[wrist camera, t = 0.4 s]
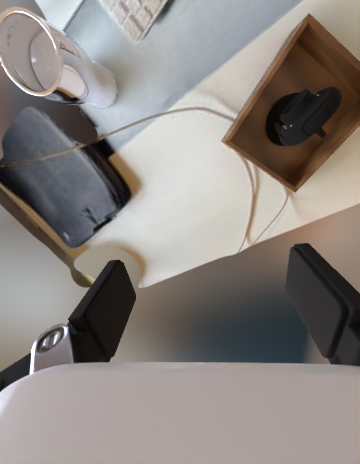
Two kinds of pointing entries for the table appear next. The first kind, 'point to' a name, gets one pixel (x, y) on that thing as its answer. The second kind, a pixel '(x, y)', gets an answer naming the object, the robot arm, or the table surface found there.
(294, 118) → the webcam
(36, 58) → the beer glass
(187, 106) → the table surface
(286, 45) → the wooden box
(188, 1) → the table surface
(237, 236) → the table surface
